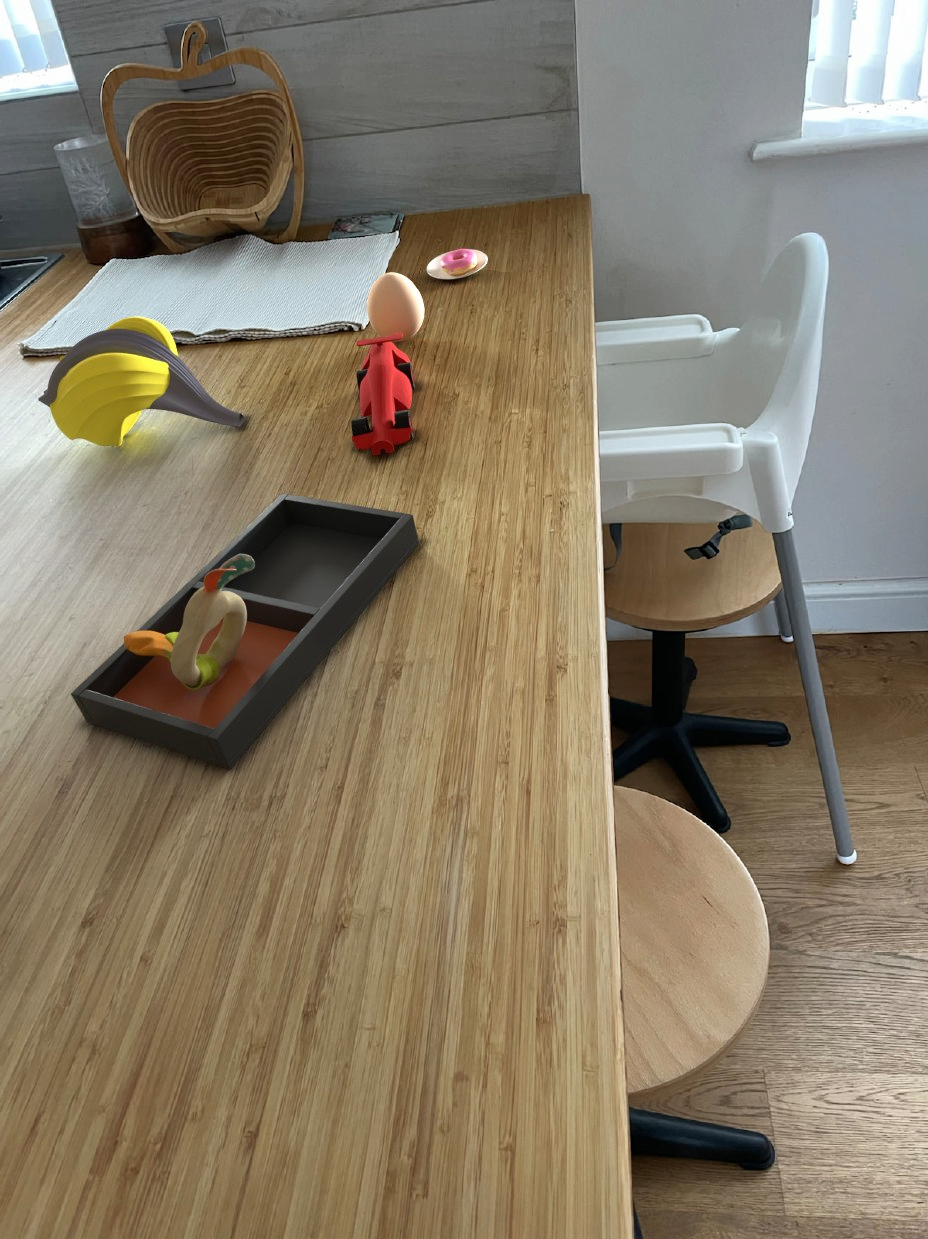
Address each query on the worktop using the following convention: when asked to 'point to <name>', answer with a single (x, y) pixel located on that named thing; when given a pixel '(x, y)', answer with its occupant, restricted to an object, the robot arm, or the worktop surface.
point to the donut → (457, 264)
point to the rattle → (201, 629)
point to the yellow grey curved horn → (125, 383)
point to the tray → (256, 628)
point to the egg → (395, 306)
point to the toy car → (384, 396)
